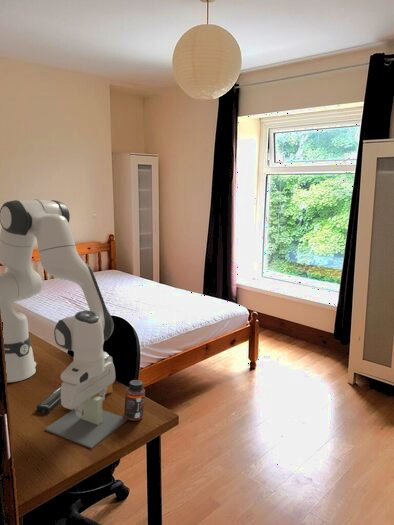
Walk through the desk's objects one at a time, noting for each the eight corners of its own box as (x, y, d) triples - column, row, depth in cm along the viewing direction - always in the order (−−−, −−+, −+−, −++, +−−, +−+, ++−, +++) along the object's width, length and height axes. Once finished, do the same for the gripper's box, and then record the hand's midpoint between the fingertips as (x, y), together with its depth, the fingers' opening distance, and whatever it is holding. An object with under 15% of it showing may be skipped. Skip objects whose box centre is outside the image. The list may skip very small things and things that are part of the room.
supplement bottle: (142, 422, 126) (145, 387, 125) (123, 421, 126) (125, 386, 124) (143, 412, 132) (146, 378, 131) (124, 411, 132) (127, 377, 130)
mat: (44, 430, 122) (44, 428, 122) (82, 404, 136) (82, 403, 136) (91, 449, 114) (91, 447, 114) (127, 419, 128) (127, 418, 128)
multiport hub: (72, 392, 144) (72, 386, 144) (48, 415, 130) (48, 408, 130) (61, 390, 145) (61, 384, 145) (36, 413, 131) (35, 406, 131)
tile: (80, 418, 127) (79, 394, 126) (85, 415, 129) (84, 391, 127) (98, 424, 124) (97, 400, 122) (102, 421, 126) (101, 397, 124)
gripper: (103, 350, 133) (105, 390, 136) (55, 377, 116) (58, 421, 118) (119, 355, 131) (120, 395, 133) (72, 382, 113) (75, 428, 116)
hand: (90, 407), depth 126 cm, fingers open, 8 cm apart
